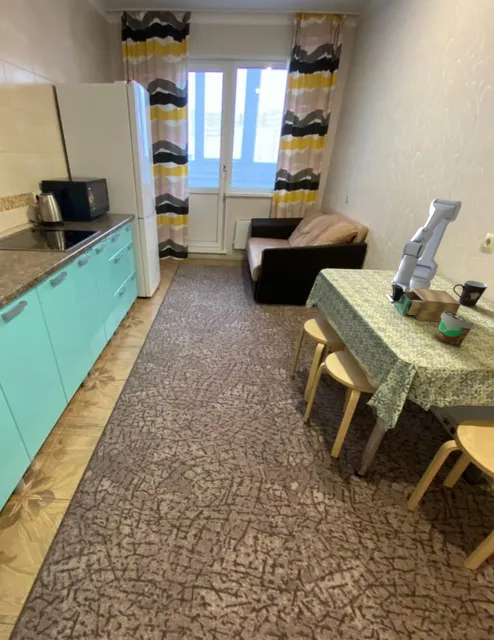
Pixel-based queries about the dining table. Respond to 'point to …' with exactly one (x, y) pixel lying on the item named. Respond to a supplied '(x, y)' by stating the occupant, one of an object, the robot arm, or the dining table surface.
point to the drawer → (407, 303)
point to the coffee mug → (471, 292)
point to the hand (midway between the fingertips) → (394, 301)
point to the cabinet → (435, 304)
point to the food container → (453, 328)
